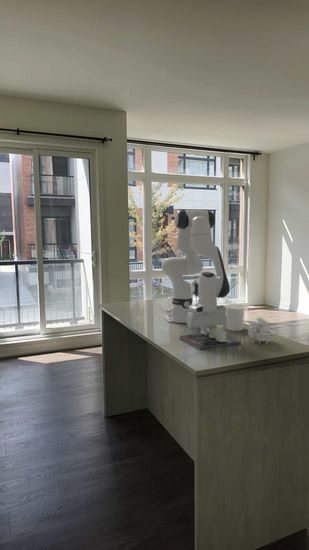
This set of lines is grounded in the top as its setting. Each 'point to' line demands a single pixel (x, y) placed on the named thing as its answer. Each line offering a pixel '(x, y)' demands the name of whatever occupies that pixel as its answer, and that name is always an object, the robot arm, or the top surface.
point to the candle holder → (235, 317)
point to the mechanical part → (260, 330)
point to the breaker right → (221, 335)
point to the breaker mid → (213, 332)
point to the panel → (208, 341)
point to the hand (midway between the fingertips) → (207, 335)
